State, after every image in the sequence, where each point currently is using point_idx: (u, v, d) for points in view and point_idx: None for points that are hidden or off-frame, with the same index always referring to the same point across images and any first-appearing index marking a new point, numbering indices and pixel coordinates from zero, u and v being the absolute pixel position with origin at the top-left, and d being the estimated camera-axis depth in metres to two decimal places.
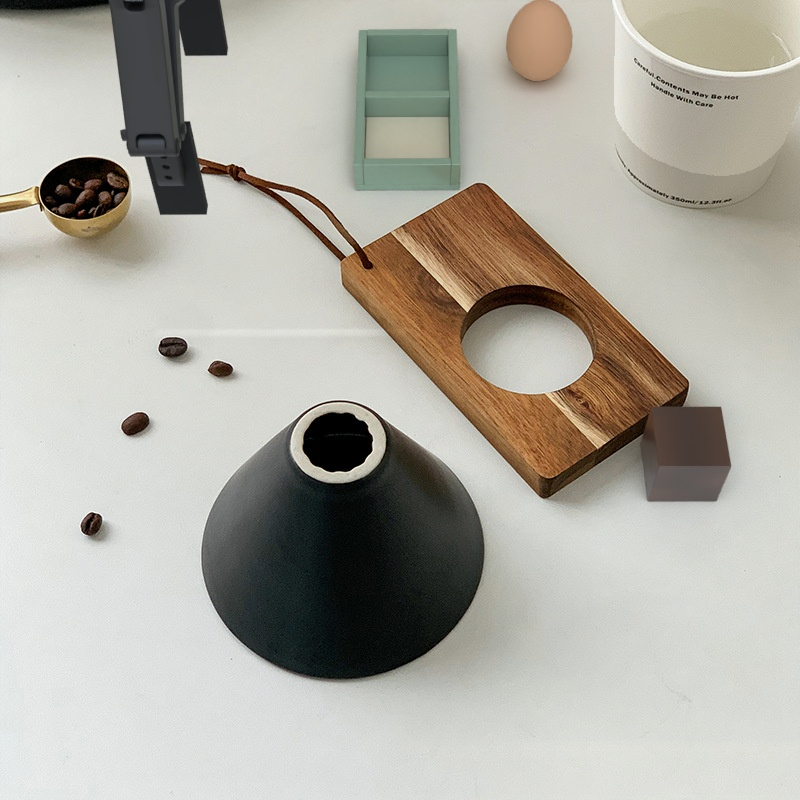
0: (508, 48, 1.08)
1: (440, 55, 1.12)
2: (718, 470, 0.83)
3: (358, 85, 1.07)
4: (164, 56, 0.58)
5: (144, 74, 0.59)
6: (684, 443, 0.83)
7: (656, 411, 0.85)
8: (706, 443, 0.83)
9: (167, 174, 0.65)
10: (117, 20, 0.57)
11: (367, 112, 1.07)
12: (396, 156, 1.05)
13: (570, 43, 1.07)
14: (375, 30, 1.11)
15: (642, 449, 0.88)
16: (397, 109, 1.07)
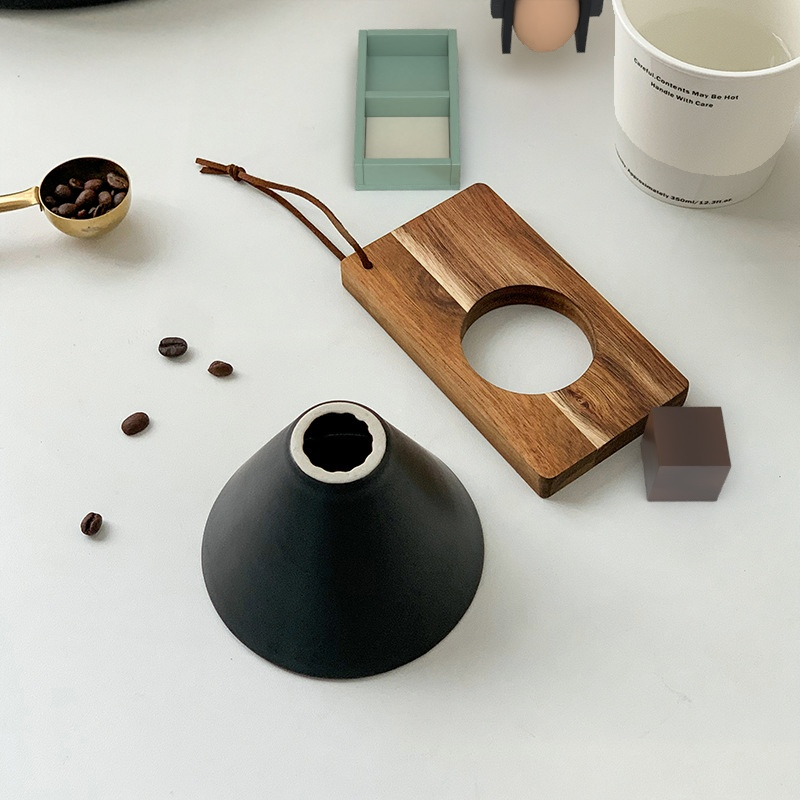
0: (513, 18, 1.05)
1: (440, 55, 1.12)
2: (718, 470, 0.83)
3: (358, 85, 1.07)
4: None
5: None
6: (684, 443, 0.83)
7: (656, 411, 0.85)
8: (706, 443, 0.83)
9: None
10: None
11: (367, 112, 1.07)
12: (396, 156, 1.05)
13: (577, 12, 1.04)
14: (375, 30, 1.11)
15: (642, 449, 0.88)
16: (397, 109, 1.07)
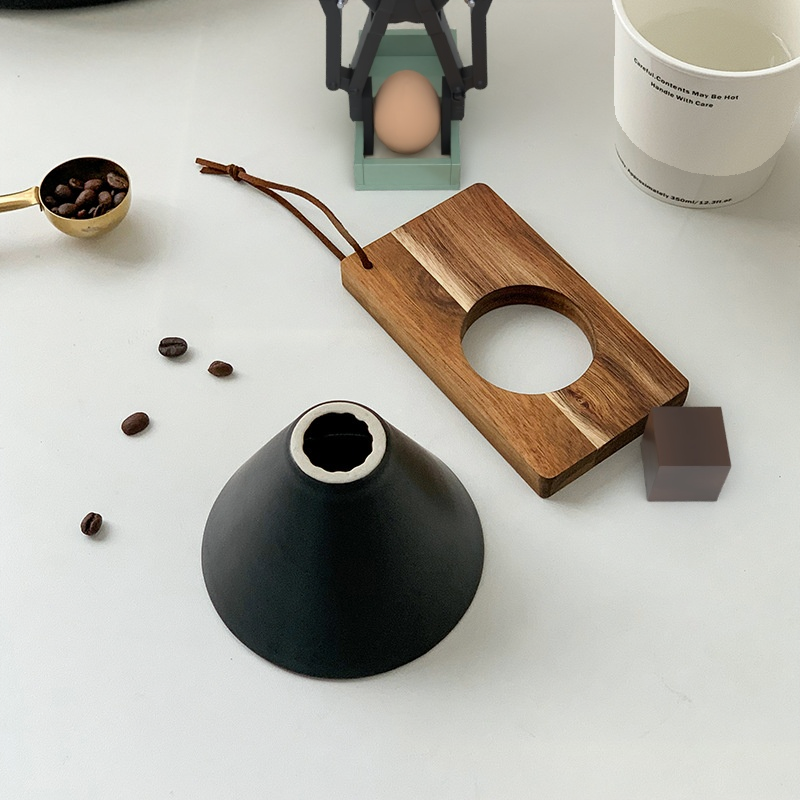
0: (373, 121, 1.02)
1: None
2: (718, 470, 0.83)
3: None
4: None
5: None
6: (684, 443, 0.83)
7: (656, 411, 0.85)
8: (706, 443, 0.83)
9: None
10: None
11: None
12: (396, 156, 1.05)
13: (438, 116, 1.01)
14: None
15: (642, 449, 0.88)
16: None
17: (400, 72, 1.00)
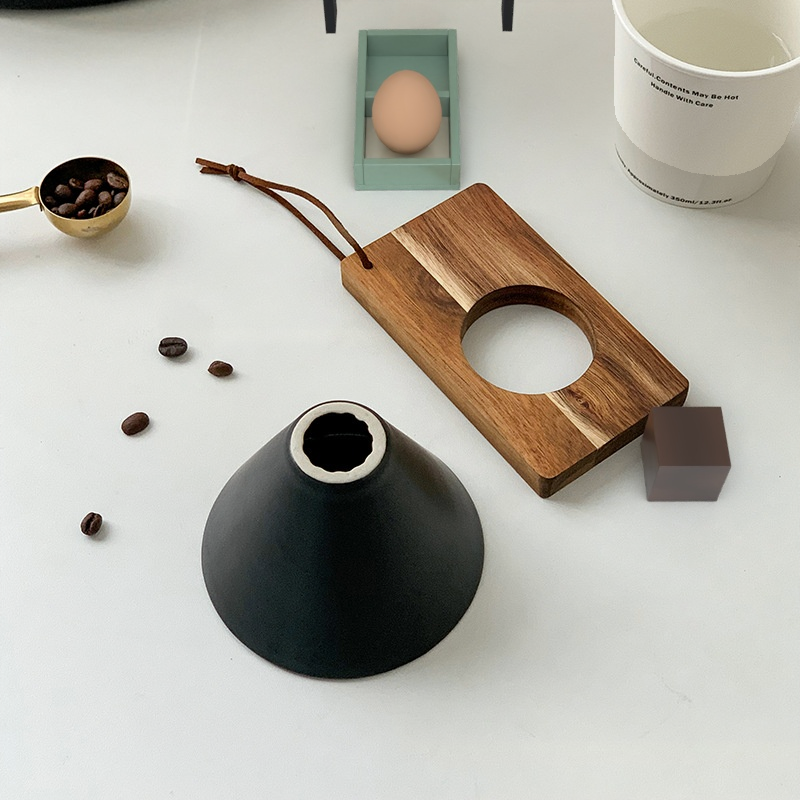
0: (373, 121, 1.02)
1: (440, 55, 1.12)
2: (718, 470, 0.83)
3: (358, 85, 1.07)
4: None
5: None
6: (684, 443, 0.83)
7: (656, 411, 0.85)
8: (706, 443, 0.83)
9: None
10: None
11: (367, 112, 1.07)
12: (396, 156, 1.05)
13: (438, 116, 1.01)
14: (375, 30, 1.11)
15: (642, 449, 0.88)
16: None
17: (400, 72, 1.00)
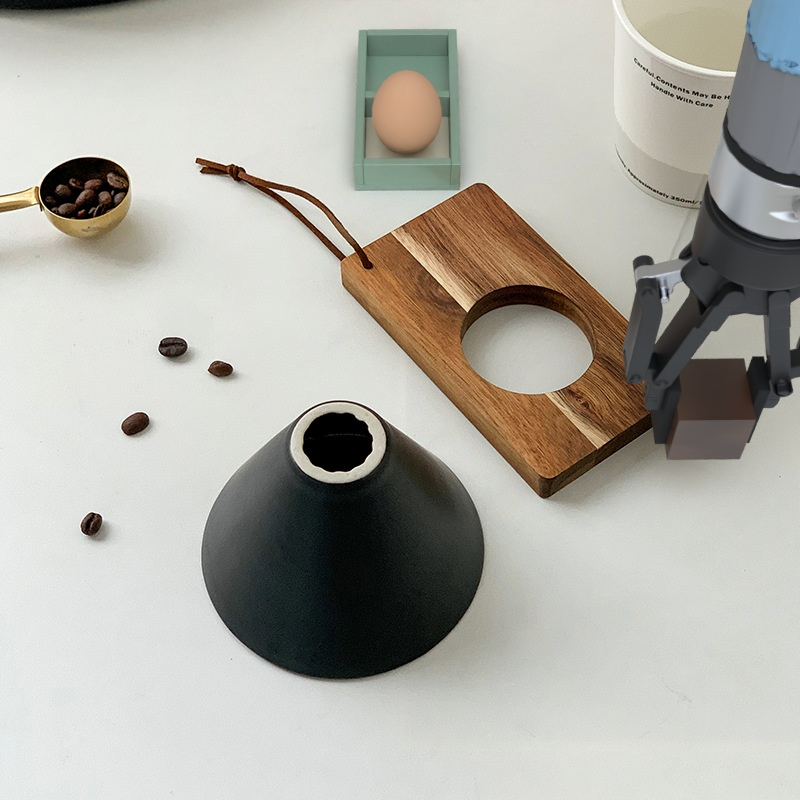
0: (373, 121, 1.02)
1: (440, 55, 1.12)
2: (741, 424, 0.78)
3: (358, 85, 1.07)
4: None
5: None
6: (705, 396, 0.79)
7: None
8: (729, 396, 0.79)
9: None
10: None
11: (367, 112, 1.07)
12: (396, 156, 1.05)
13: (438, 116, 1.01)
14: (375, 30, 1.11)
15: None
16: None
17: (400, 72, 1.00)
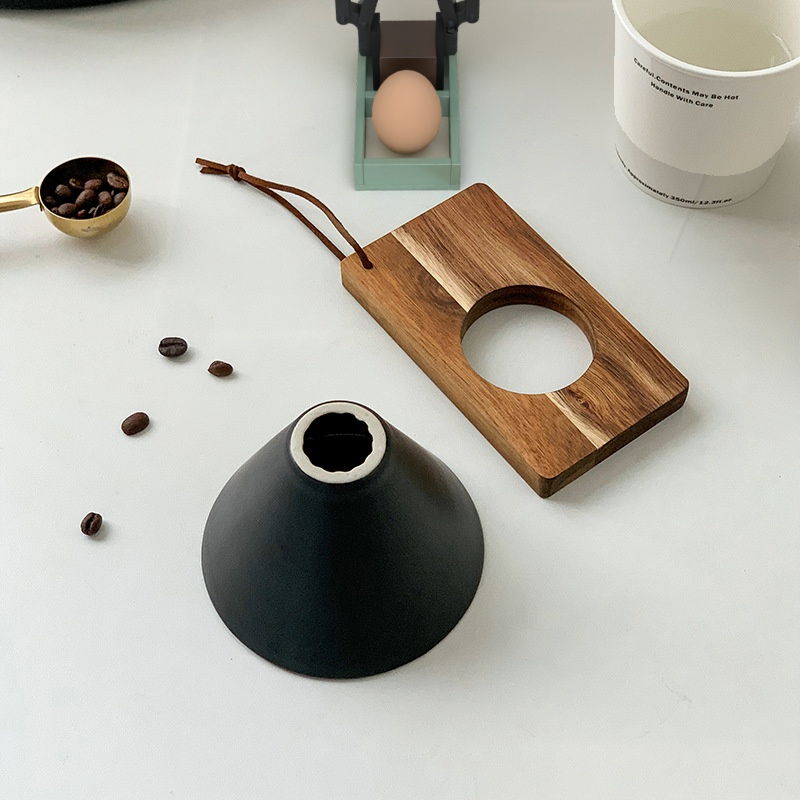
0: (373, 121, 1.02)
1: None
2: (426, 61, 1.05)
3: (358, 85, 1.07)
4: None
5: None
6: (402, 43, 1.06)
7: (383, 23, 1.07)
8: (419, 42, 1.06)
9: None
10: None
11: (367, 112, 1.07)
12: (396, 156, 1.05)
13: (438, 116, 1.01)
14: None
15: None
16: None
17: (400, 72, 1.00)
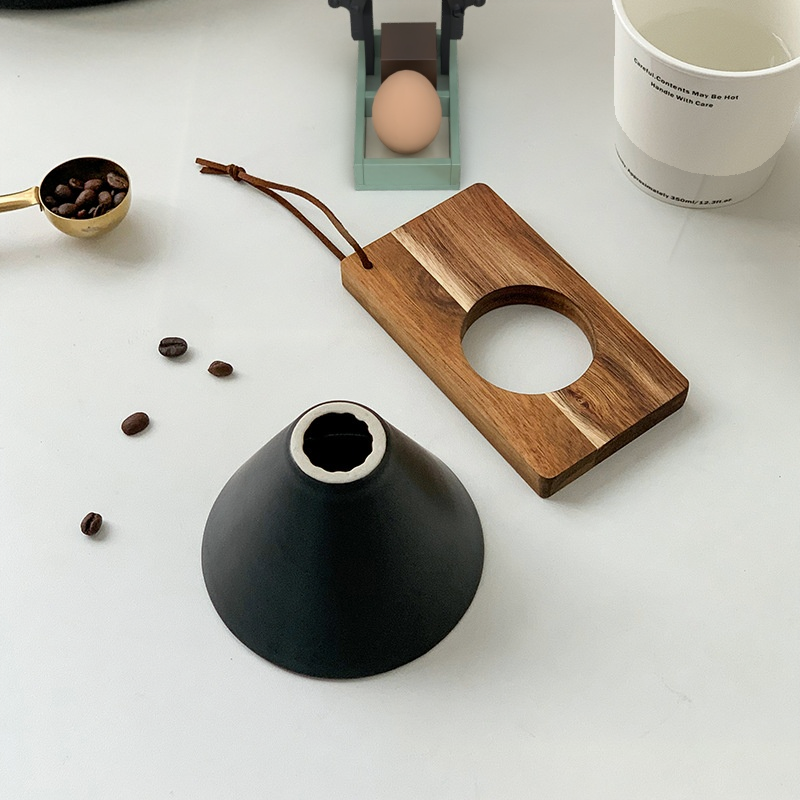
0: (373, 121, 1.02)
1: None
2: (427, 63, 1.05)
3: (358, 85, 1.07)
4: None
5: None
6: (402, 45, 1.06)
7: (384, 25, 1.07)
8: (420, 45, 1.06)
9: None
10: None
11: (367, 112, 1.07)
12: (396, 156, 1.05)
13: (438, 116, 1.01)
14: (375, 30, 1.11)
15: None
16: None
17: (400, 72, 1.00)
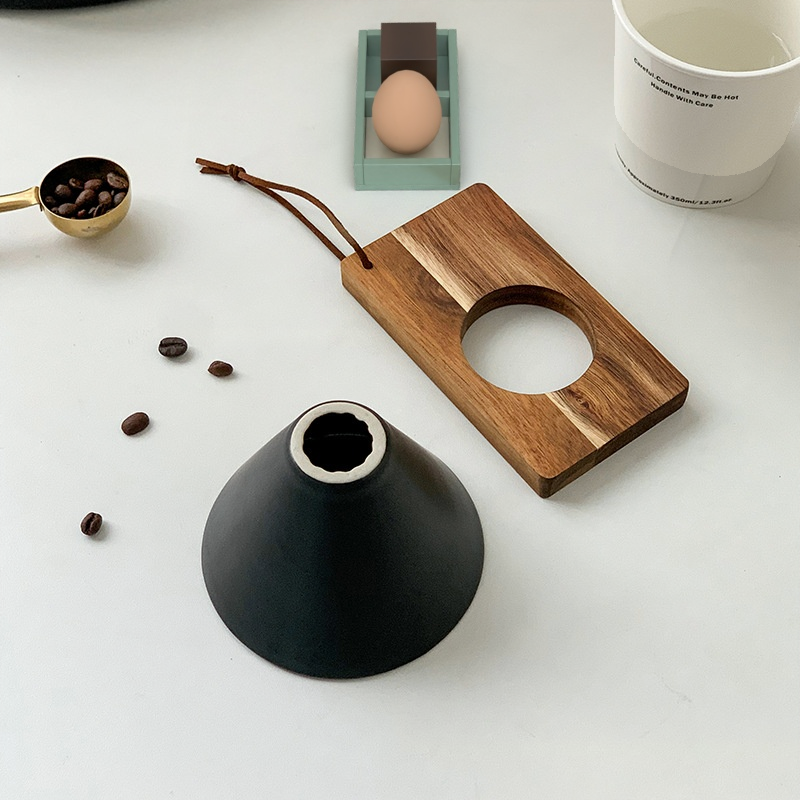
0: (373, 121, 1.02)
1: (440, 55, 1.12)
2: (427, 63, 1.05)
3: (358, 85, 1.07)
4: None
5: None
6: (402, 45, 1.06)
7: (384, 25, 1.07)
8: (420, 45, 1.06)
9: None
10: None
11: (367, 112, 1.07)
12: (396, 156, 1.05)
13: (438, 116, 1.01)
14: (375, 30, 1.11)
15: None
16: None
17: (400, 72, 1.00)
